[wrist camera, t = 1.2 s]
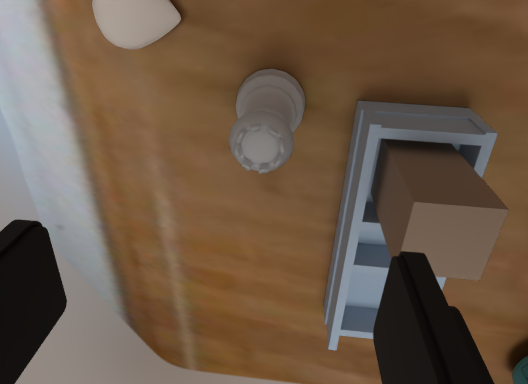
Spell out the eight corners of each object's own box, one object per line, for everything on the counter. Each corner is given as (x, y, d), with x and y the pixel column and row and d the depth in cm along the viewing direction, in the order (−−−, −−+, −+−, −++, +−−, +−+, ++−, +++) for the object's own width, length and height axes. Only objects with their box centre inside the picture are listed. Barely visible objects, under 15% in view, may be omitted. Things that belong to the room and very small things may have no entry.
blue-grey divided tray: (469, 108, 25) (559, 181, 16) (405, 313, 34) (441, 433, 25) (357, 100, 25) (386, 168, 16) (323, 305, 34) (330, 420, 25)
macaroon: (103, -38, 23) (81, -39, 21) (188, -24, 23) (175, -24, 21) (107, 40, 25) (88, 47, 23) (185, 53, 25) (173, 60, 23)
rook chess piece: (269, 146, 27) (258, 206, 20) (223, 99, 26) (193, 146, 19) (320, 104, 25) (326, 153, 19) (272, 51, 24) (260, 83, 17)
